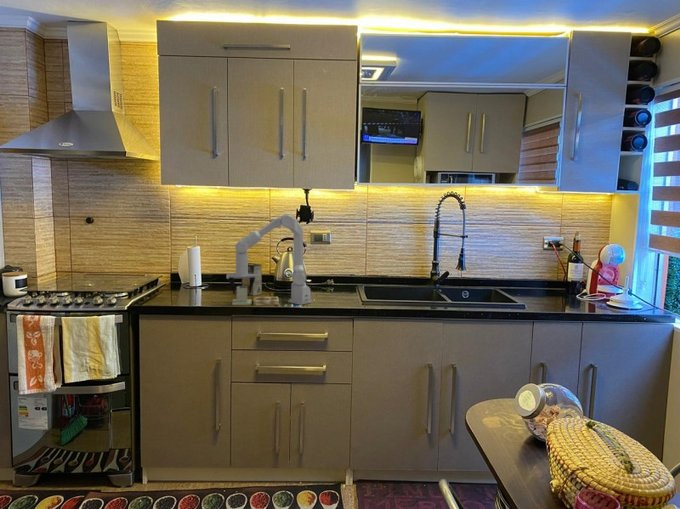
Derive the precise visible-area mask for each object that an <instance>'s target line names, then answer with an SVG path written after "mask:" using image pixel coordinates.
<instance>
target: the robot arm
mask: <svg viewBox="0 0 680 509" xmlns="http://www.w3.org/2000/svg"><path fill="white" fill-rule="evenodd" d="M282 226H283V228H286V229H288V230H289V231H290V232H292V233H293V272H292V274H291V278H292V283H291V285H290V286H291V291H290V292H291V293H290V294H291V295H290V300H287V303H291V304H296V305H300V306H301V305H305V304H311V303H312V302H313V301H312V300H311V299H312V298H311V295H312V293H311V292H312V291H311V288H310V287H309V286H308V285H307V283H306V280H307V278H306V275H305V270H304V230H303V227H302V226H301V224H300V223H299V222H298V220H297V218H295V217H294V216H292V215H291V214H290V213H284V214H283V215H281V216H279V217H277V218H275V219H273V220H272V221H270V222H269V223H267V224H266V225H265V226H264V227H262V228H261V229H259V230H253V231H252V230H250V232H249V234H247V235H246V236H245V237H241V240H239V241H237V242H236V243H235V247H234V248H235V250H236V251H235V273H230V274H229V273H227V274H226V279H227V280H228V282H229V283H230V286H231V289H232V294H233V295H234V294H235V293H236V291H235V290H236V288H235V279H242V278H250V289H249V293H251V289H252V285H253V283H254V281H255V278H257V274H248V263H249V261H248V260H249V257H248V249H250V248H253V247H254V246H255V245H257V244H258V243H259V242H261V241H262V237H264V236H265V235H267V234H268V233H269V232H271V231H273V230H274V229H276V228H282Z"/></svg>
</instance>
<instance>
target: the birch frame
mask: <svg viewBox="0 0 680 509" xmlns="http://www.w3.org/2000/svg"><path fill="white" fill-rule="evenodd" d="M279 302H280V301H279V297H278V296H254V297H253V306H279V305H280V303H279Z"/></svg>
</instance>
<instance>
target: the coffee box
mask: <svg viewBox="0 0 680 509" xmlns="http://www.w3.org/2000/svg"><path fill="white" fill-rule="evenodd" d="M262 267H263V266H262V264H260V263H254V262H253V263H252V262H248V274H257V278H255V281H254V283H253V285H252V289H251V293H249V289H250V278H241V286H247V295H248V294H249V296H257V295H261V294H262V272H263V271H262Z"/></svg>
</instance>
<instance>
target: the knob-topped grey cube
mask: <svg viewBox="0 0 680 509" xmlns="http://www.w3.org/2000/svg"><path fill="white" fill-rule="evenodd" d="M247 299H248V294H247V286H242V285H238V286H236V300H237V303H239V302H247Z"/></svg>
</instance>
